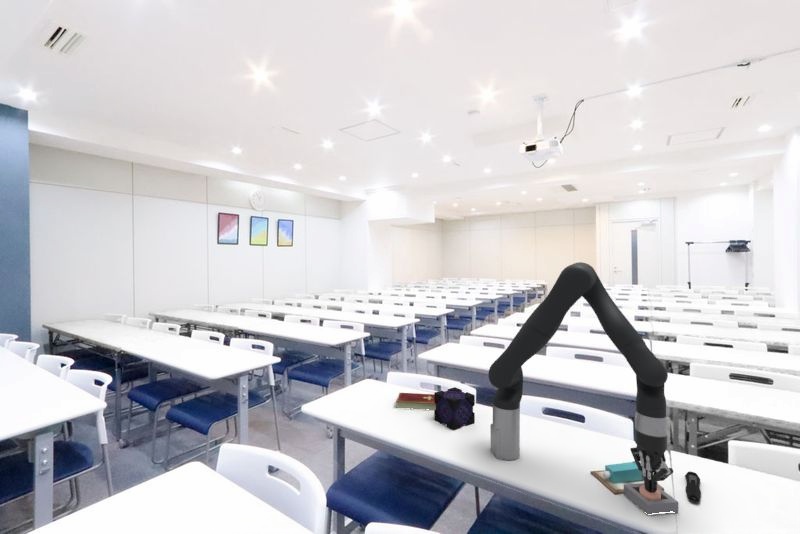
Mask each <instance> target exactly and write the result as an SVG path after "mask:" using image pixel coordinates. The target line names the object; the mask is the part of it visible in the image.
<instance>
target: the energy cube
mask: <svg viewBox="0 0 800 534" xmlns="http://www.w3.org/2000/svg"><path fill="white" fill-rule="evenodd" d="M433 394H434V403H436V410H434V411H433V413H434V414H433V416H434V417H433V419H434V421H435V422H437V423H439V424H441V425H442V424H443V425H445V426H446V427H447V428H448V429H449V430H451V431H454V432H455V431H457V430H459V429H462V427H463V426H468V427H469V426H471V425H474V424H475V421H476V420H475V419H476V418H475V417H476V416H475V412H474V406H475V403H476V402H475V401H476V397H475V394H473V393H470V392H467V391H466V392H465V391H463V390H462V389H460V388H459V387H455V386H454V387H450V388H448V389H447V390H445V391H443V390H438V391H436V392H434V393H433Z"/></svg>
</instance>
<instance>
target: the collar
mask: <svg viewBox="0 0 800 534" xmlns="http://www.w3.org/2000/svg"><path fill="white" fill-rule="evenodd" d="M642 485H644V483H638V484H625V485H624V494H623V496H624V497H626V498H627V499H628V500H629V501H630V502H631V501H632V502H631V503H632V504H633V505H634V506H636V505H637V506H638V507H639V510H641V509H642V510H643V511H644V512H646V513H647V514H652V513H659V512H670V511H673V512H675V513H674V514H679V501H678V500H676V498H674V497H673V496H671V495H670V494H668V493H667V492H665V490H662V489H660V488H659V487H657V490H659V491H660V492H661V500H650V501H649V500H647V499H646V498H645V497H644V496H642V495H641V494H640V493H639V488H640V486H642ZM637 506H636V507H637ZM638 507H637V508H638ZM642 510H641V511H642ZM643 511H642V512H643ZM644 512H643V513H644ZM647 514H646V515H647Z"/></svg>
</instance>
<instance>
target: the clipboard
mask: <svg viewBox="0 0 800 534" xmlns="http://www.w3.org/2000/svg"><path fill="white" fill-rule="evenodd" d="M604 471H605V469H603V470H591V471H590V474H591V475H592V476H593V477H594V478H595V479H597V480H598V481H599V482H600V483H601V484H602V485H603V486H604V487H605V488H607V489H608V490H609V491H610V492H611V493H612V494H613V495H624V485H625V484H638V483H644V480H637V481H629V482H621V483H612V482H611V481H610V480H609V479H608V478H605V477H604V476H603V472H604ZM657 487H659V488H660V489H662V490H663V491H665V487H663V486H662V485H660V484H659V481H657Z"/></svg>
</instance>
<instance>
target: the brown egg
mask: <svg viewBox="0 0 800 534" xmlns="http://www.w3.org/2000/svg"><path fill="white" fill-rule="evenodd" d="M639 493H640V494H641V495H642V496H644V497H645V498H646V499H647V500H649V501H650V500H661V492H660V491H659V490H657V491H656V492H653V493H650V492H648V491H647V490H646V489H645V485H642V486H640V488H639Z"/></svg>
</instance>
